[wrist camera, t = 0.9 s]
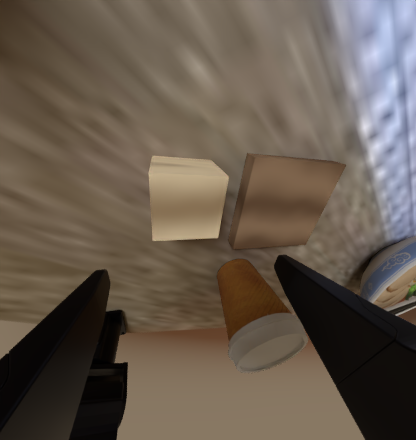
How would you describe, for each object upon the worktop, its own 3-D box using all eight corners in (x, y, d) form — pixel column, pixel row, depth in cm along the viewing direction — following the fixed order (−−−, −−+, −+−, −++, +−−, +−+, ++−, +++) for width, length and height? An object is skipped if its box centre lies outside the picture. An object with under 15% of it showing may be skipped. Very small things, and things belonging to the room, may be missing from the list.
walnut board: (297, 236, 28) (305, 244, 26) (228, 240, 25) (233, 249, 23) (332, 161, 22) (346, 164, 20) (247, 153, 19) (255, 157, 17)
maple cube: (205, 209, 21) (218, 237, 16) (155, 209, 20) (152, 241, 15) (210, 159, 18) (228, 176, 13) (152, 155, 17) (148, 172, 12)
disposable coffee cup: (195, 280, 28) (214, 373, 18) (237, 241, 25) (286, 323, 15) (232, 296, 32) (263, 376, 23) (270, 264, 30) (324, 339, 20)
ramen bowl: (462, 197, 33) (540, 218, 26) (406, 273, 45) (449, 301, 39) (347, 232, 30) (401, 266, 24) (322, 302, 43) (352, 338, 36)
